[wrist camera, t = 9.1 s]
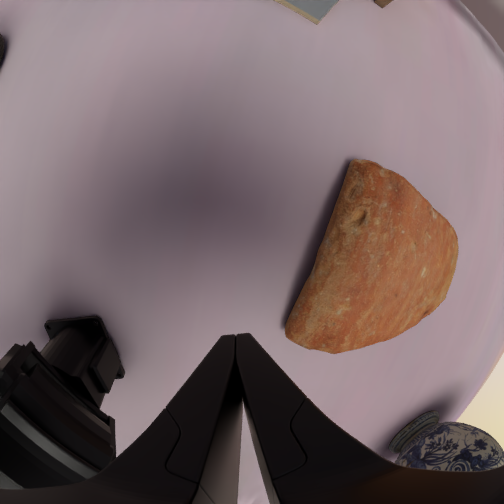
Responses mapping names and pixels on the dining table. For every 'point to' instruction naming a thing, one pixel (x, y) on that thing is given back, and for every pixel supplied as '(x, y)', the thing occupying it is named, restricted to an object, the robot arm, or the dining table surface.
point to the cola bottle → (1, 47)
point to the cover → (310, 8)
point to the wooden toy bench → (382, 2)
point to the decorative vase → (446, 446)
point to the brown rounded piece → (374, 265)
